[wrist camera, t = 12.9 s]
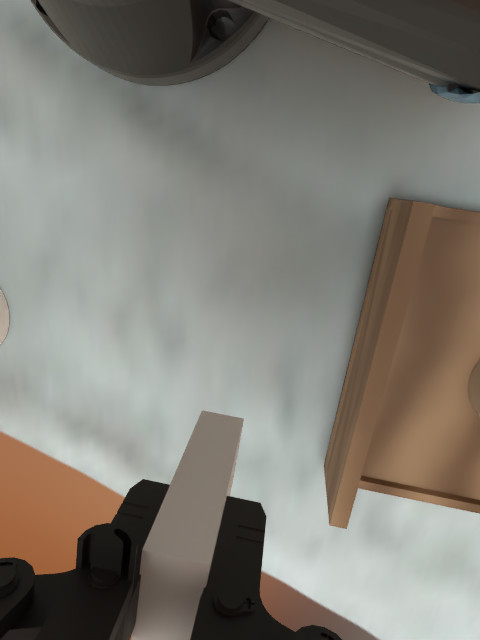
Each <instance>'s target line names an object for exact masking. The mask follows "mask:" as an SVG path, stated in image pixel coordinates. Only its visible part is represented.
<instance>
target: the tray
mask: <svg viewBox="0 0 480 640" xmlns="http://www.w3.org/2000/svg"><path fill="white" fill-rule="evenodd" d="M479 360H480V213H479V212H473V211H467V210H461V209H454V208H448V207H442V206H436V205H435V204H429V203H423V202H417V201H409V200H400V199H392V198H389V201H388V205H387V210H386V214H385V218H384V222H383V226H382V230H381V234H380V238H379V242H378V246H377V251H376V255H375V259H374V263H373V267H372V271H371V275H370V279H369V283H368V287H367V292H366V296H365V300H364V304H363V308H362V312H361V316H360V320H359V324H358V328H357V333H356V337H355V341H354V345H353V349H352V353H351V357H350V361H349V365H348V369H347V374H346V378H345V382H344V386H343V390H342V394H341V398H340V402H339V406H338V410H337V415H336V419H335V423H334V427H333V431H332V435H331V439H330V443H329V447H328V451H327V456H326V460H325V464H324V471H325V482H326V492H327V503H328V514H329V524H330V525H331V526H336V527H340V528H345V529H347V526H348V522H349V518H350V515H351V511H352V507H353V504H354V500H355V497H356V493H357V489H358V488H360V489H365V490H370V491H374V492H379V493H384V494H389V495H394V496H398V497H403V498H408V499H413V500H418V501H422V502H427V503H432V504H437V505H442V506H446V507H451V508H456V509H461V510H466V511H470V512H475V513H480V416H479V415H478V414H477V412H476V411H475V410H474V408H473V406H472V404H471V401H470V398H469V392H468V386H469V380H470V376H471V374H472V371H473V369H474V367H475V366H476V364H477V363H478V362H479Z"/></svg>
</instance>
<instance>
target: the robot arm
mask: <svg viewBox="0 0 480 640" xmlns="http://www.w3.org/2000/svg"><path fill="white" fill-rule="evenodd" d="M31 2H32V4H33V5H34V7H35V8H36V10H37V12H38V13H39V14H40V16H41V17H42V18H43V20H44V21H45V22H46V24H47V25H48V26H49V27H50V28H51V29H52V31H53V32H54V33H55V34H56V35H57V36H58V37H59V38H60V39H61V40H62V41H63V42H64V43H65V44H66V45H68V46H69V47H70V48H71V49H72V50H74V51H75V52H76V53H77V54H79V55H80V56H82V57H83V58H85V59H86V60H88V61H90V62H91V63H93V64H94V65H96V66H98V67H99V68H101V69H103V70H105V71H106V72H108V73H110V74H112V75H115V76H117V77H119V78H122V79H125V80H128V81H132V82H136V83H141V84H147V85H173V84H180V83H184V82H189V81H192V80H195V79H198V78H201V77H203V76H206V75H208V74H210V73H212V72H214V71H216V70H218V69H219V68H221V67H222V66H224V65H226V64H227V63H228V62H230V61H231V60H232V59H234V58H235V57H236V56H237V55H238V54H240V53H241V52H242V51H243V50H244V49H245V48H246V47H247V46H248V45H249V44H250V43H251V41H252V40H253V39H254V38H255V37H256V36H257V34H258V33H259V32H260V30H261V29H262V28H263V26H264V25H265V23H266V22H267V20H268V19H269V17H270V18H272V19H274V20H277V21H279V22H282V23H284V24H287V25H289V26H291V27H294V28H296V29H299V30H301V31H304V32H306V33H308V34H311V35H313V36H316V37H318V38H321V39H323V40H325V41H328V42H330V43H333V44H335V45H337V46H340V47H342V48H345V49H347V50H350V51H352V52H354V53H357V54H359V55H362V56H364V57H367V58H369V59H371V60H374V61H376V62H379V63H381V64H384V65H386V66H388V67H391V68H393V69H396V70H398V71H400V72H403V73H405V74H408V75H410V76H413V77H415V78H417V79H420V80H422V81H425V82H427V83H429V85H430V88H431V90H432V92H434V93H435V94H438V95H440V96H442V97H444V98H446V99H448V100H451V101H456V102H460V103H480V0H31ZM243 420H244V419H242V418H237V417H232V416H227V415H222V414H217V413H212V412H207V411H202V412H201V414H200V417H199V419H198V421H197V424H196V426H195V428H194V431H193V433H192V435H191V438H190V440H189V442H188V445H187V447H186V449H185V452H184V454H183V456H182V459H181V461H180V463H179V466H178V468H177V470H176V473H175V475H174V477H173V480H172V482H171V484H170V485H168V484H163V483H159V482H154V481H149V480H145V479H143V480H141V481H140V482H139V483H137V484H136V485H134V486H133V487H132V488H130V490H129V492H128V493H127V495H126V497H125V499H124V501H123V504H121V506H120V508H119V510H118V512H117V514H116V515H115V517H114V519H113V520H112V522H111V524H109V523H106V524H101V525H96V526H94V527H92V528H90V529H88V530H86V531H85V532H84V533H83V534H82V535H81V536H80V537H79V538H78V544H77V559H76V569H73V570H71V571H68V572H64V573H57V574H43V575H35V573H34V570H33V567H32V566H31V565H30V564H28V562H26V561H25V560H22V559H18V558H1V559H0V640H129V639H130V637H131V634H132V632H133V634H132V640H342V639H341V638H340V637H339V636H338V635H337V634H336V633H334V632H332V631H330V630H328V629H327V628H325V627H320V626H315V625H311V626H306V627H302V628H300V629H299V630H298V631H296V632H294V631H293V630H291V629H289V628H287V627H286V626H284V625H282V624H281V623H279V622H278V621H276V620H275V619H274V618H273V617H272V616H271V615H270V614H269V613H268V612H267V611H266V609H265V607H264V606H263V604H262V601H261V598H260V578H261V567H262V557H263V546H264V545H263V544H264V535H265V525H266V515H265V513H264V510H263V508H262V506H261V503H258V502H254V501H249V500H244V499H240V498H235V497H230V491H231V487H232V482H233V476H234V471H235V465H236V459H237V454H238V448H239V443H240V437H241V431H242V426H243Z"/></svg>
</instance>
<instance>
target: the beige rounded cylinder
mask: <svg viewBox="0 0 480 640" xmlns="http://www.w3.org/2000/svg"><path fill="white" fill-rule="evenodd" d="M468 392H469V398H470V401H471V404H472V406H473V408H474V410H475V411H476V412H477V414H478V415H479V416H480V360H479V362H478V363H477V364H476V366H475V367H474V369H473V371H472V374H471V376H470V380H469V386H468Z"/></svg>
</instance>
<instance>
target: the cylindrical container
mask: <svg viewBox="0 0 480 640" xmlns="http://www.w3.org/2000/svg"><path fill="white" fill-rule="evenodd" d="M9 323H10V319H9V309H8V305H7V301H6V299H5V297H4V294H3V292H2V291H1V289H0V345H1V343H2V342H3V341H4V339H5V337H6V335H7V332H8V328H9Z"/></svg>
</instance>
